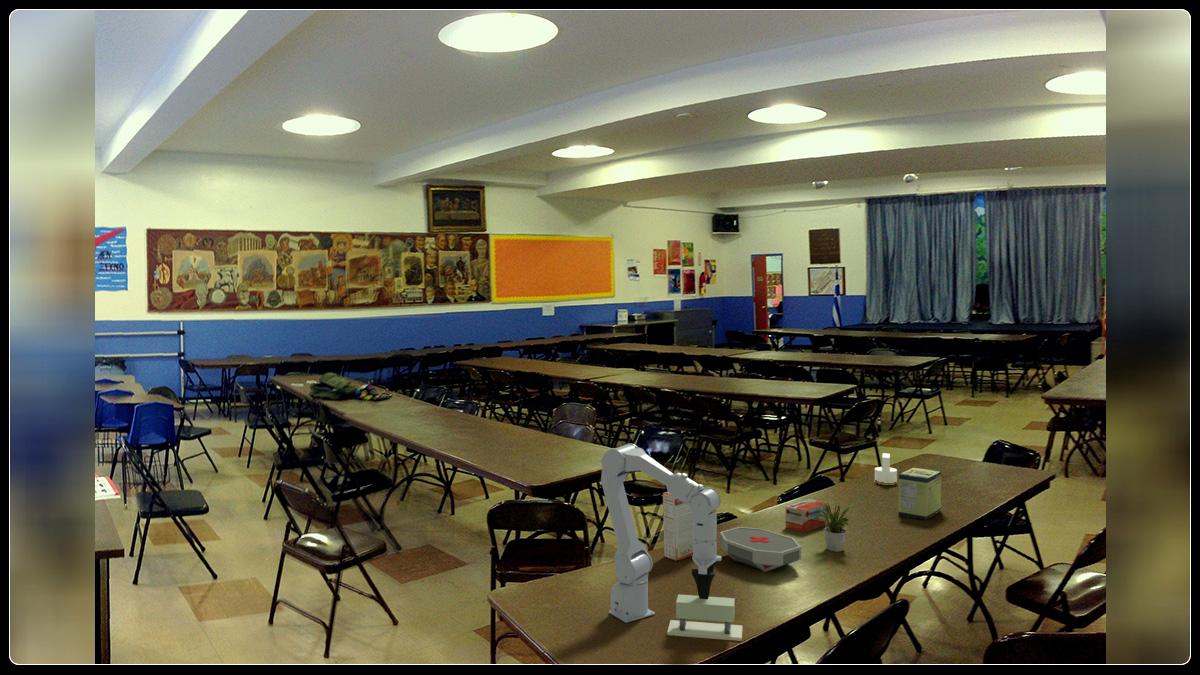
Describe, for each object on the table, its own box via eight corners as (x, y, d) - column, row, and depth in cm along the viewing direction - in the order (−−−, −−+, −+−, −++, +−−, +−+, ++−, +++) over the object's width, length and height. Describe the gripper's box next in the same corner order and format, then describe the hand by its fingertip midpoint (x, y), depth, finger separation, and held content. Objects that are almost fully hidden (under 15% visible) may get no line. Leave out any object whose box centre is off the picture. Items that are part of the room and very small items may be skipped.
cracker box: (693, 547, 260) (693, 484, 259) (706, 551, 256) (706, 487, 254) (662, 556, 251) (662, 491, 250) (676, 561, 247) (675, 495, 245)
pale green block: (676, 618, 196) (676, 602, 195) (678, 609, 200) (678, 594, 200) (733, 622, 193) (733, 606, 192) (734, 614, 198) (734, 598, 197)
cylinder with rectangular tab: (896, 486, 335) (897, 458, 334) (874, 484, 339) (874, 456, 338) (896, 481, 344) (897, 454, 343) (874, 479, 347) (875, 452, 346)
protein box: (941, 511, 298) (942, 470, 297) (926, 521, 286) (927, 478, 285) (913, 506, 305) (913, 466, 304) (897, 515, 293) (898, 474, 292)
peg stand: (667, 634, 195) (667, 619, 195) (670, 623, 202) (670, 607, 202) (741, 640, 192) (741, 624, 191) (742, 628, 198) (742, 613, 198)
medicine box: (809, 519, 290) (809, 498, 289) (828, 524, 284) (829, 502, 283) (784, 528, 280) (784, 506, 280) (804, 533, 274) (804, 510, 273)
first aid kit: (710, 558, 250) (771, 581, 230) (710, 534, 250) (771, 556, 230) (748, 546, 261) (810, 568, 241) (748, 524, 260) (810, 543, 240)
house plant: (804, 552, 254) (804, 502, 253) (812, 539, 267) (812, 491, 266) (850, 558, 248) (851, 507, 247) (856, 545, 261) (857, 496, 259)
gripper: (719, 549, 188) (719, 605, 188) (722, 530, 202) (722, 582, 203) (689, 547, 189) (689, 603, 190) (695, 529, 203) (695, 580, 204)
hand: (704, 592), depth 196 cm, fingers open, 7 cm apart
